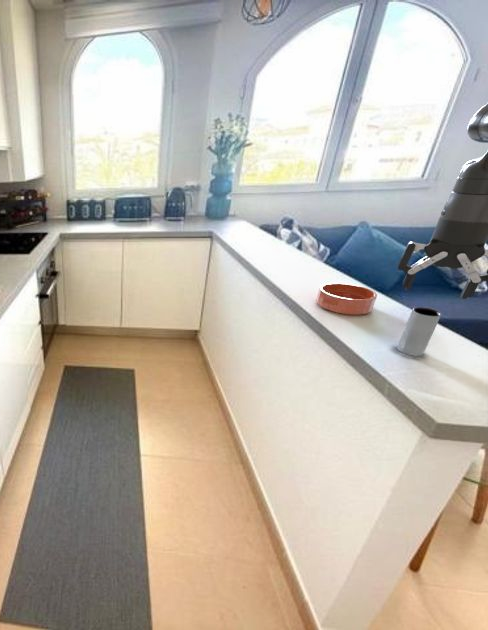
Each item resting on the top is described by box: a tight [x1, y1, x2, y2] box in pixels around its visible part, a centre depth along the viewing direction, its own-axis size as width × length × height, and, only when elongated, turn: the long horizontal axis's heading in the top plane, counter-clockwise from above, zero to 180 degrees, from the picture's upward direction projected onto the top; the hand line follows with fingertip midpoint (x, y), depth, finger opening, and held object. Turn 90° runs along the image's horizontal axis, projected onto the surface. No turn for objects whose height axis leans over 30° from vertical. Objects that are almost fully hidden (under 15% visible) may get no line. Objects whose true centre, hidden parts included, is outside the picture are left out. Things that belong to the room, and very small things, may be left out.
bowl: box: [315, 282, 378, 316], centre depth 101 cm, size 13×13×5 cm
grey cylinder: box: [396, 306, 442, 357], centre depth 78 cm, size 4×4×10 cm
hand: (433, 293), depth 74 cm, fingers open, 8 cm apart
